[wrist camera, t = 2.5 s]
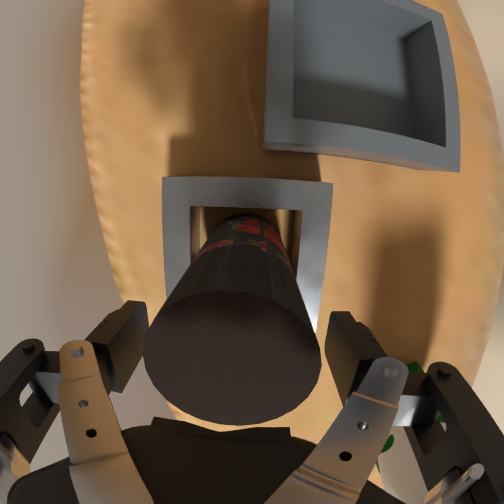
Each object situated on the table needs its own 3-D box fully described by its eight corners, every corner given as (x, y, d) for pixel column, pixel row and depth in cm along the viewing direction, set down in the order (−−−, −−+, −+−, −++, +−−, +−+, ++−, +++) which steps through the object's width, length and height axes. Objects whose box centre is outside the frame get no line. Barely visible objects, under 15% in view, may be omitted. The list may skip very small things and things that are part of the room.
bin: (267, 6, 17) (270, -32, 11) (411, 37, 17) (442, 14, 11) (262, 149, 21) (264, 141, 15) (418, 169, 21) (459, 172, 15)
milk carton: (355, 376, 27) (415, 534, 7) (425, 352, 26) (510, 476, 7) (354, 420, 29) (393, 549, 10) (415, 399, 28) (472, 509, 9)
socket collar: (176, 176, 21) (162, 177, 18) (321, 181, 21) (333, 183, 18) (179, 307, 24) (169, 327, 21) (307, 313, 24) (314, 334, 21)
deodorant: (283, 279, 24) (315, 420, 9) (213, 284, 24) (166, 422, 9) (280, 210, 22) (326, 282, 7) (205, 215, 22) (122, 293, 8)
